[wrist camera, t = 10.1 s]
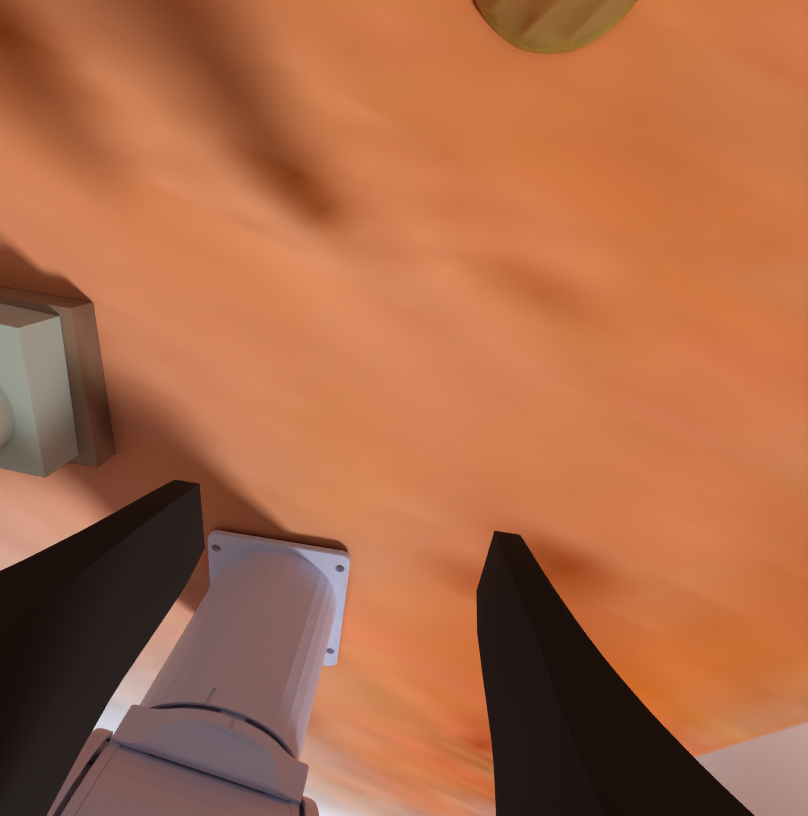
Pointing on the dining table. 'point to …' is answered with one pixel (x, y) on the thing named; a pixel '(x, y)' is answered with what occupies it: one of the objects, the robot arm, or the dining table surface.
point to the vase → (553, 22)
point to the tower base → (77, 370)
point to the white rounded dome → (5, 420)
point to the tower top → (36, 392)
